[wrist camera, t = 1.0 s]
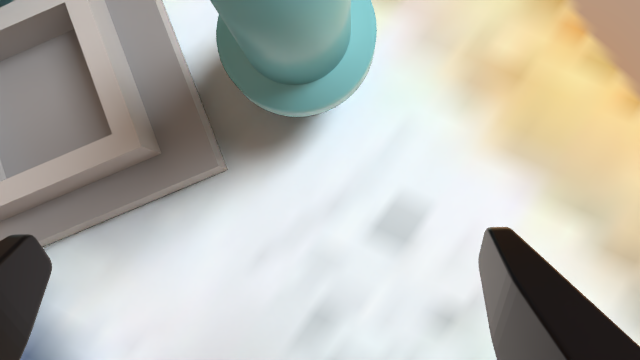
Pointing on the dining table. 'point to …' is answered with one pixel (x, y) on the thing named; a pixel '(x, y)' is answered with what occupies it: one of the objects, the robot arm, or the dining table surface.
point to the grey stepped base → (94, 114)
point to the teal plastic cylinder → (296, 51)
